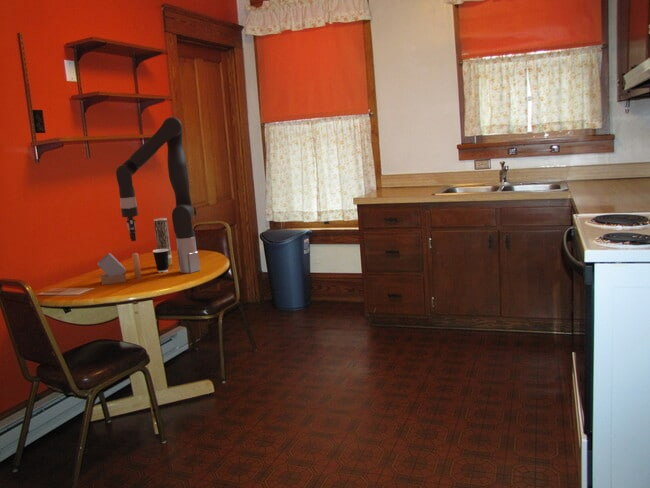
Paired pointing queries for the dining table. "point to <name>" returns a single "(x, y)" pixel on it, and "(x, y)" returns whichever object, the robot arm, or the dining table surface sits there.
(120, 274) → the socket
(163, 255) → the dixie cup
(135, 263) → the dowel
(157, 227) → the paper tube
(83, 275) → the dining table surface
